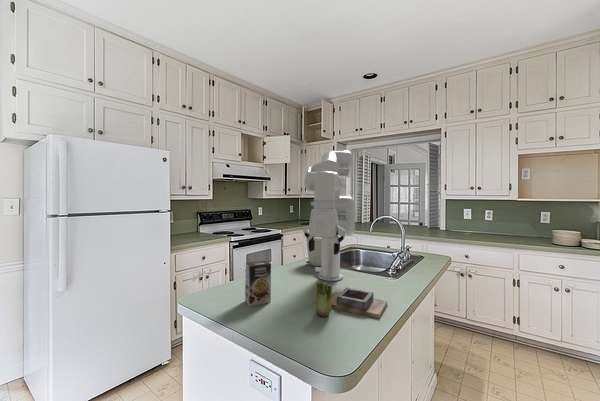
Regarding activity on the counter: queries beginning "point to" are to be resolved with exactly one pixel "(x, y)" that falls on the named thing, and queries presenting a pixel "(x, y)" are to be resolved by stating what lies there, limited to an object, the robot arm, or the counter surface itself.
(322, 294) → the fennel bulb
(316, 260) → the canister
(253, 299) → the coffee box
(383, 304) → the collar stand
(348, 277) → the counter surface
